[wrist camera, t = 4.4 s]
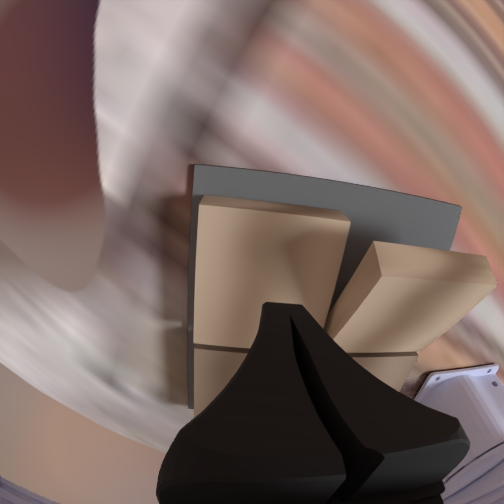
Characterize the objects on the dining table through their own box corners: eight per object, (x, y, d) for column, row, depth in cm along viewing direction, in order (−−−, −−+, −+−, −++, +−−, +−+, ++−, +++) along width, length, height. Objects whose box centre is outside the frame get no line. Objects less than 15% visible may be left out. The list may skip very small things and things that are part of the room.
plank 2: (486, 256, 13) (497, 285, 12) (416, 327, 20) (420, 351, 18) (373, 240, 13) (381, 276, 12) (320, 325, 19) (322, 352, 18)
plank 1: (340, 210, 16) (350, 221, 15) (311, 333, 20) (316, 351, 18) (203, 194, 16) (199, 204, 14) (197, 324, 19) (193, 343, 18)
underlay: (459, 205, 17) (462, 207, 16) (376, 409, 24) (377, 411, 23) (195, 164, 16) (194, 164, 15) (188, 405, 23) (188, 408, 22)
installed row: (408, 339, 20) (418, 355, 19) (373, 408, 23) (379, 424, 22) (197, 329, 19) (194, 348, 18) (196, 405, 22) (194, 423, 21)
